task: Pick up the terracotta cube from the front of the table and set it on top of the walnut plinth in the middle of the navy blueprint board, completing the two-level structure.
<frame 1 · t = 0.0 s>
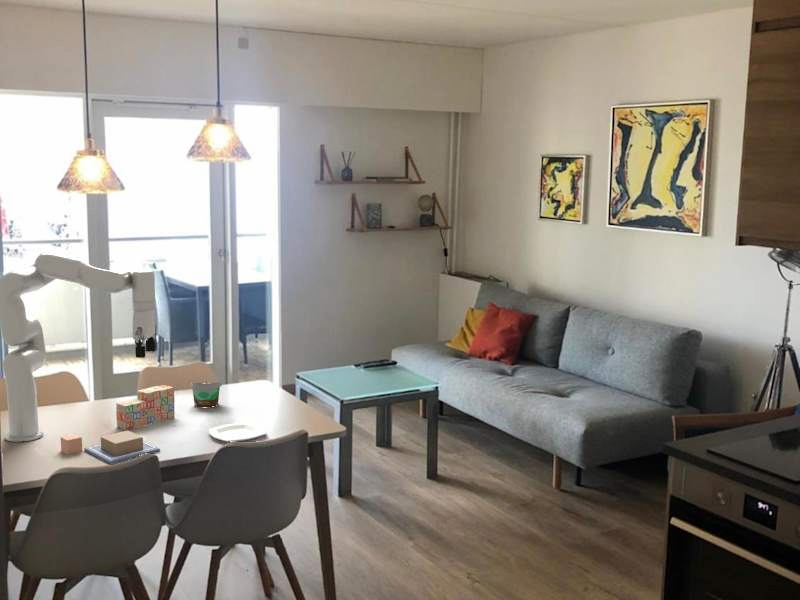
hand: (145, 354, 293), 31 cm above the table, tool pointing down, fingers open, 9 cm apart
stack of blocks: (146, 423, 319), on the table
tea bag: (158, 411, 334), on the table
terracotta cube: (71, 451, 286), on the table
plate: (237, 436, 305), on the table
food container: (206, 407, 341), on the table
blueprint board: (122, 451, 287), on the table
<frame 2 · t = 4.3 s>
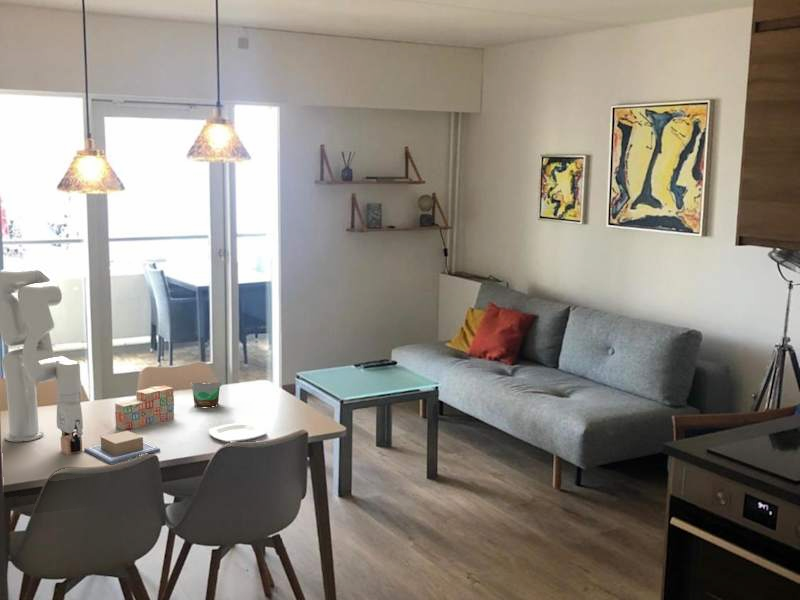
hand: (71, 449, 286), 1 cm above the table, tool pointing down, fingers closed on terracotta cube, 5 cm apart
terracotta cube: (71, 451, 286), on the table, touching gripper
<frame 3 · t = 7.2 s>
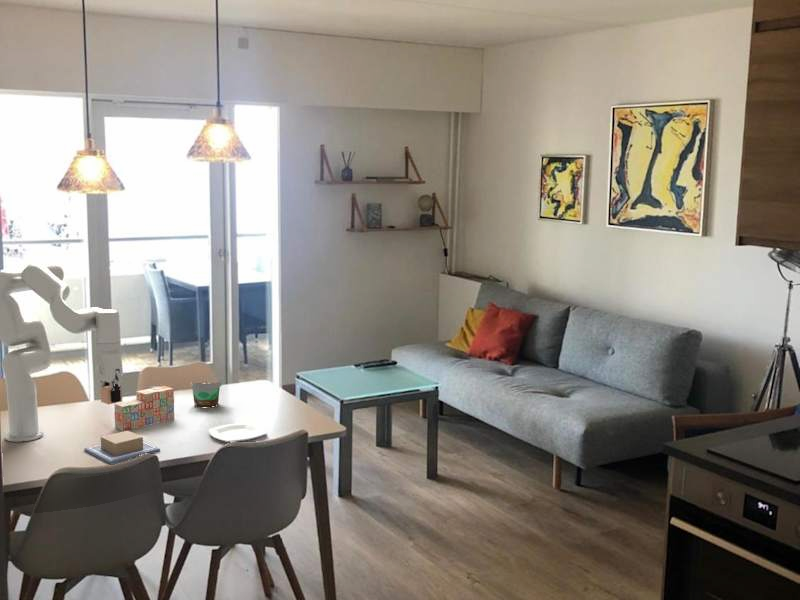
hand: (111, 399, 284), 18 cm above the table, tool pointing down, fingers closed on terracotta cube, 5 cm apart
terracotta cube: (111, 401, 284), point 17 cm above the table, touching gripper
when the fingers open (7 cm above the table, at t = 10.2 s): terracotta cube drops 1 cm, resting on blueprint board.
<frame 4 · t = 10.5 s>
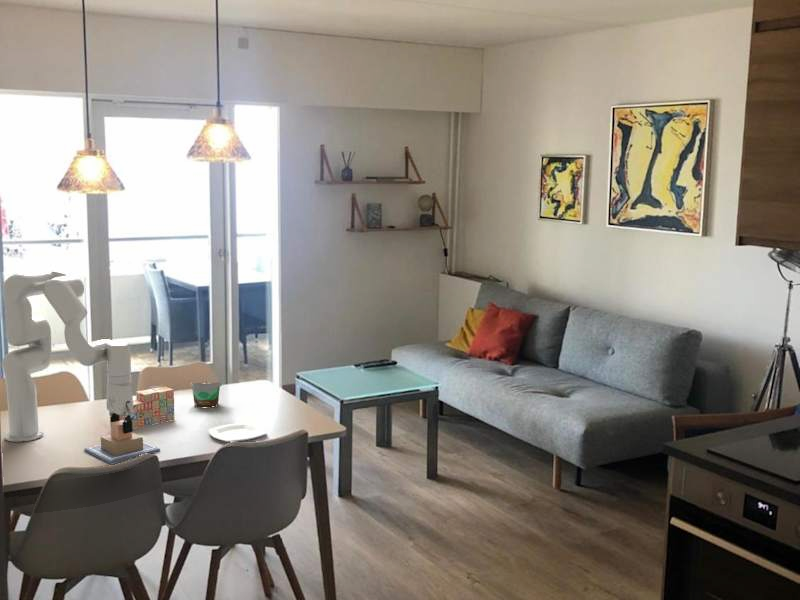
hand: (121, 429, 285), 8 cm above the table, tool pointing down, fingers open, 7 cm apart
terracotta cube: (121, 437, 286), point 5 cm above the table, touching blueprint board
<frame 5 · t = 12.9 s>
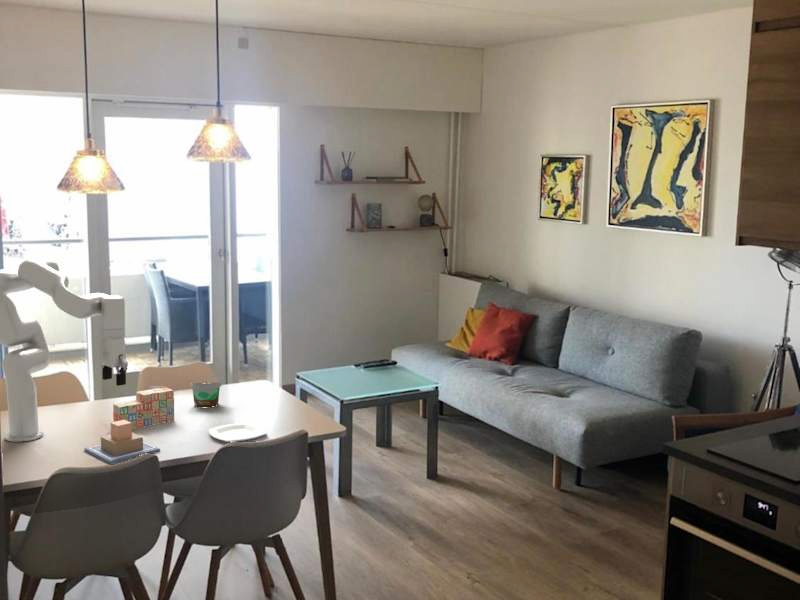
hand: (114, 381, 287), 23 cm above the table, tool pointing down, fingers open, 9 cm apart
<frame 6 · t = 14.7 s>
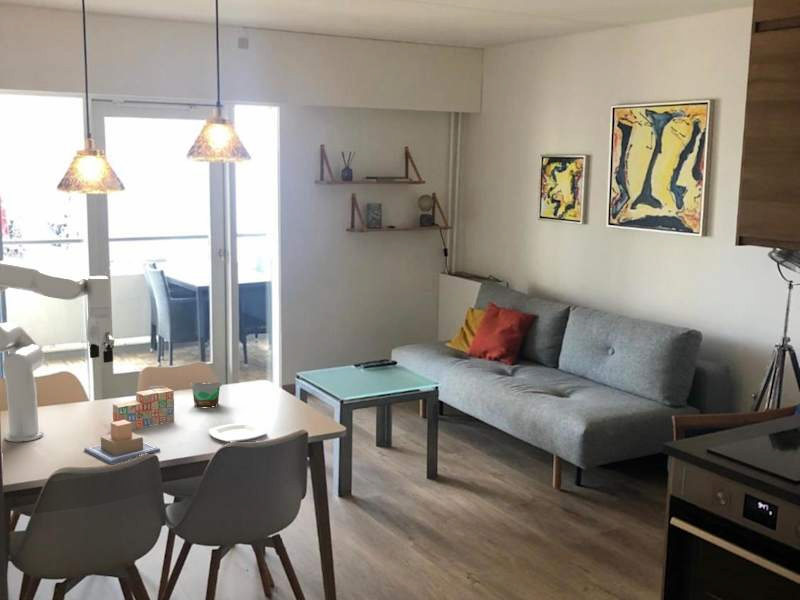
hand: (101, 359, 297), 28 cm above the table, tool pointing down, fingers open, 9 cm apart
at the end: terracotta cube 0.0 cm off-centre on the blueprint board, point 5.0 cm above the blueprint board's base; terracotta cube tilted 0°; the gripper is holding nothing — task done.
